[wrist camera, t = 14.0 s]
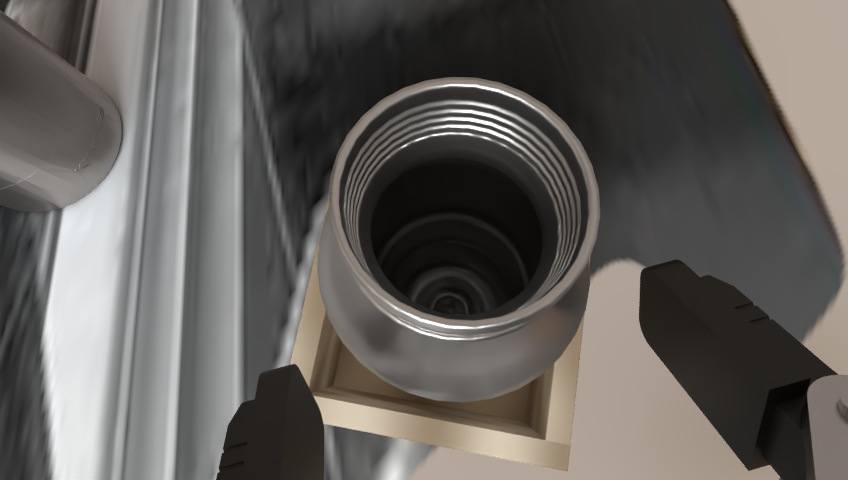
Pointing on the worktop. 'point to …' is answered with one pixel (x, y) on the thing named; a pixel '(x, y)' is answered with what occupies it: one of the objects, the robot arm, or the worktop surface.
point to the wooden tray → (437, 420)
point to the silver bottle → (458, 239)
